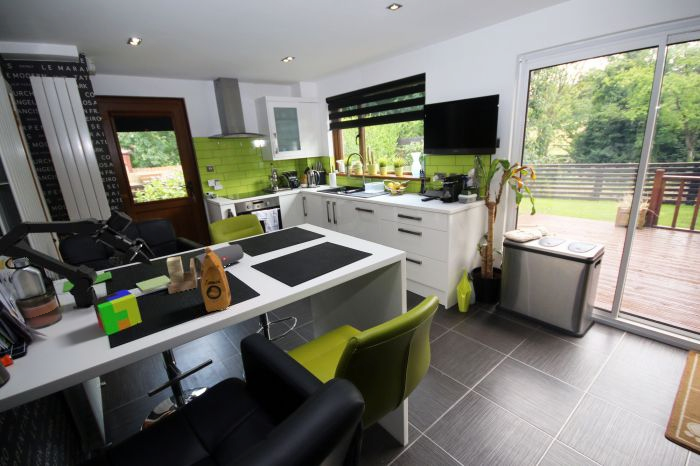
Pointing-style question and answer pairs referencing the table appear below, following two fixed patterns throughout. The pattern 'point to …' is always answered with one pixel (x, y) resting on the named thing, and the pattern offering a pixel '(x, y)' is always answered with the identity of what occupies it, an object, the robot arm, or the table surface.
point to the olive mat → (153, 283)
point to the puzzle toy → (116, 311)
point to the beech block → (175, 270)
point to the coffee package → (214, 283)
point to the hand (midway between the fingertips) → (153, 261)
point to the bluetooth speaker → (222, 256)
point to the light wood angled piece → (189, 280)
